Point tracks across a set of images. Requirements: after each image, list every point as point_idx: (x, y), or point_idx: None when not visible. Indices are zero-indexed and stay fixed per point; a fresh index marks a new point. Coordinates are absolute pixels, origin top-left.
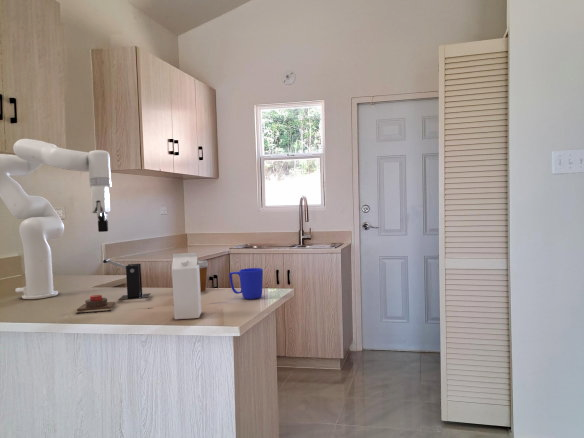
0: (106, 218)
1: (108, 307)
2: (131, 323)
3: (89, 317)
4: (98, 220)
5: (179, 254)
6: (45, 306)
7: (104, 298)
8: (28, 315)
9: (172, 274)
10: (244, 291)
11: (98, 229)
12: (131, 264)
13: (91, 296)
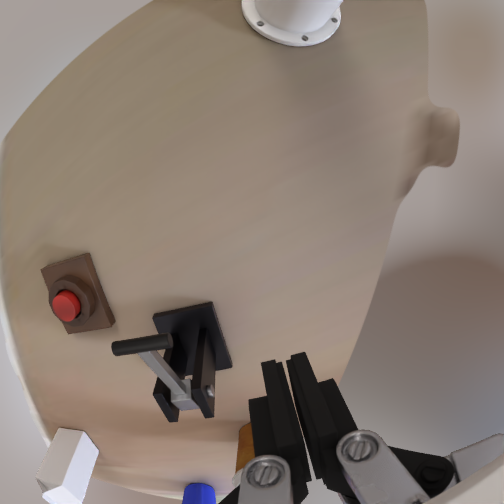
0: (342, 498)
1: (67, 331)
2: (28, 383)
3: (33, 306)
4: (245, 472)
5: (47, 500)
6: (127, 108)
7: (82, 318)
8: (39, 144)
9: (38, 471)
10: (185, 493)
11: (264, 375)
12: (195, 398)
13: (55, 301)
